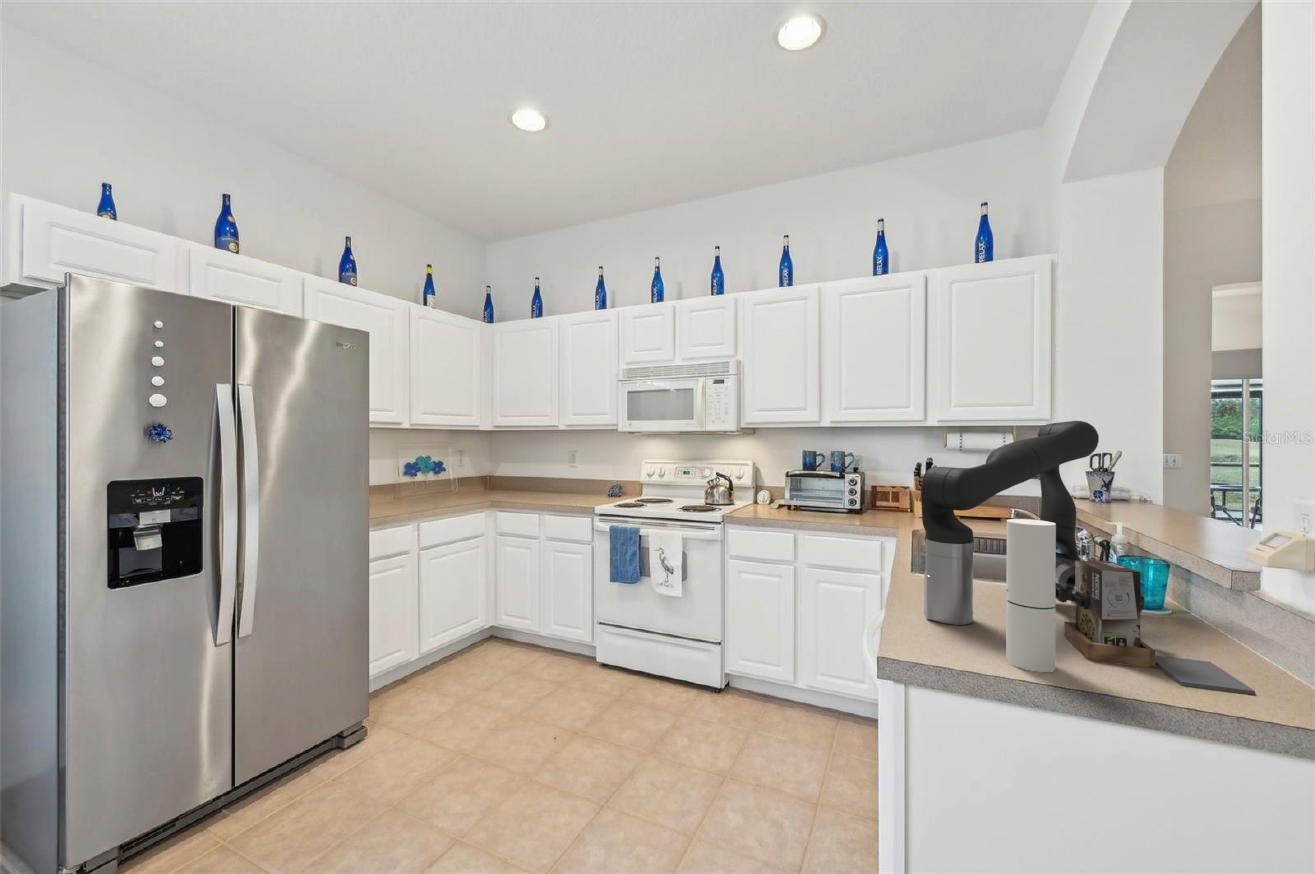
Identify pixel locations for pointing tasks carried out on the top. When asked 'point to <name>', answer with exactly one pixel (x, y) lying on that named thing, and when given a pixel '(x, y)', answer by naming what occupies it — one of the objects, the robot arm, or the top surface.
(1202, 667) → the rubber mat
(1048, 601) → the cylindrical container
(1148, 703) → the top surface
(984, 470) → the robot arm
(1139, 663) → the walnut sleeve
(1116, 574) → the coffee box
